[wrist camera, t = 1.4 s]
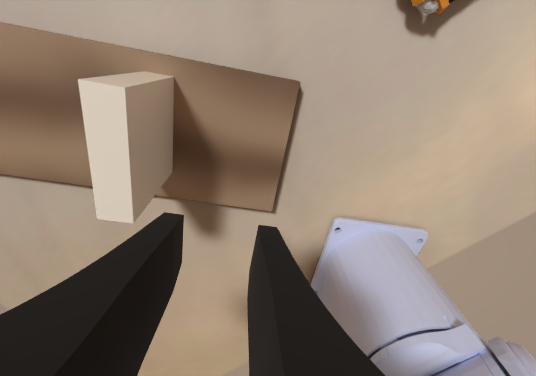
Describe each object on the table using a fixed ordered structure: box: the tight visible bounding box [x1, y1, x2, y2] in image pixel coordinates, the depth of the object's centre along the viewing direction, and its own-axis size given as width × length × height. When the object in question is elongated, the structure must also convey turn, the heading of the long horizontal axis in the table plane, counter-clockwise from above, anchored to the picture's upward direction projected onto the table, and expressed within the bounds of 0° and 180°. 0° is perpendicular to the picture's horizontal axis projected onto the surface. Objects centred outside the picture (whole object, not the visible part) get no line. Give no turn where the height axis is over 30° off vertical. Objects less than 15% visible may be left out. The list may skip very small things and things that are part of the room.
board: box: [0, 22, 300, 212], centre depth 16 cm, size 9×20×1 cm, turn 80°
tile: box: [78, 71, 174, 223], centre depth 13 cm, size 6×2×6 cm, turn 170°
